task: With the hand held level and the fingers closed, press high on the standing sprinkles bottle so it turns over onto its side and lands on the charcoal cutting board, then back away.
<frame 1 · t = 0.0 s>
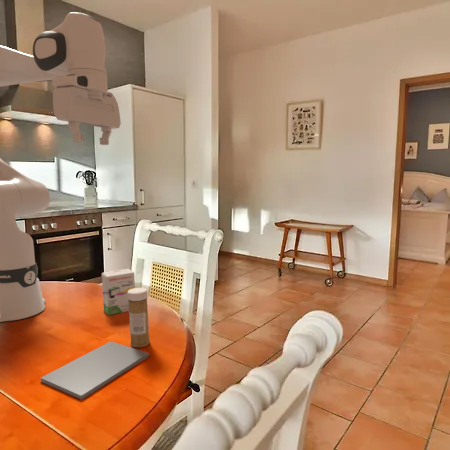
hand: (92, 143, 92), 48 cm above the table, tool pointing down, fingers open, 8 cm apart
sprinkles bottle: (140, 344, 88), on the table
cutting board: (98, 368, 77), on the table
ink box: (120, 310, 110), on the table
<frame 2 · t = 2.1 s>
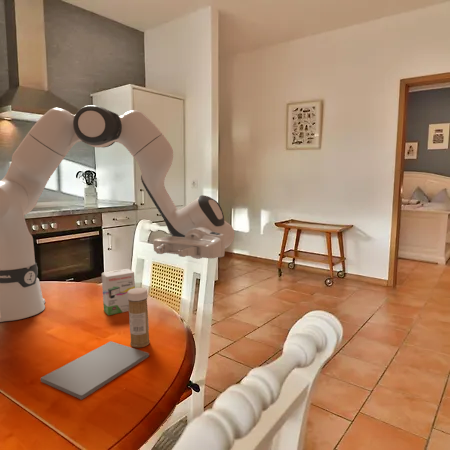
hand: (169, 252, 95), 20 cm above the table, tool horizontal, fingers open, 6 cm apart
nothing on the table moved.
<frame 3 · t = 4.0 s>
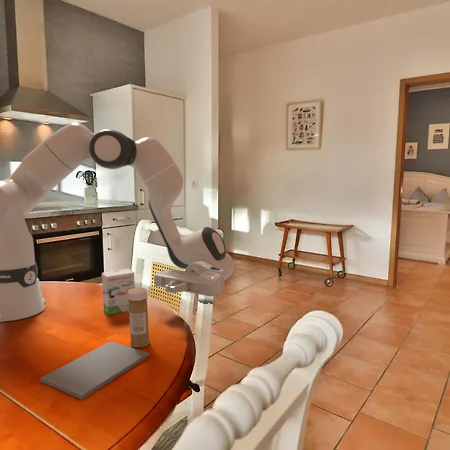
hand: (169, 289, 96), 10 cm above the table, tool horizontal, fingers closed
nothing on the table moved.
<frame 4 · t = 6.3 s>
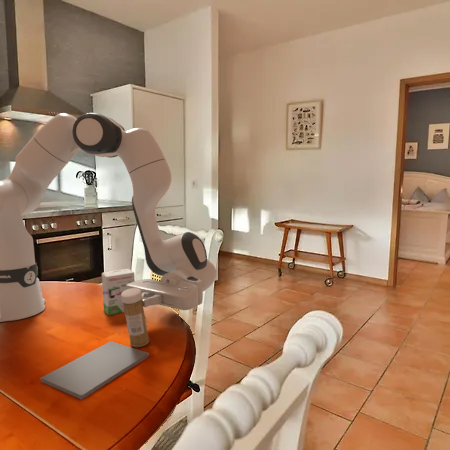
hand: (140, 303, 87), 10 cm above the table, tool horizontal, fingers closed
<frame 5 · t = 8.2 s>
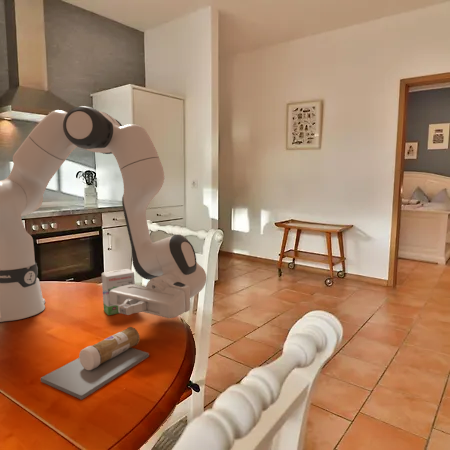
hand: (122, 310, 82), 10 cm above the table, tool horizontal, fingers closed
sprinkles bottle: (133, 335, 86), point 3 cm above the table, touching cutting board
everything else where it was.
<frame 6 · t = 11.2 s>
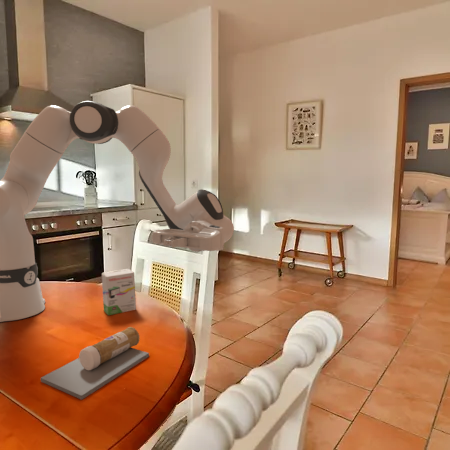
hand: (168, 243, 95), 22 cm above the table, tool horizontal, fingers closed
nothing on the table moved.
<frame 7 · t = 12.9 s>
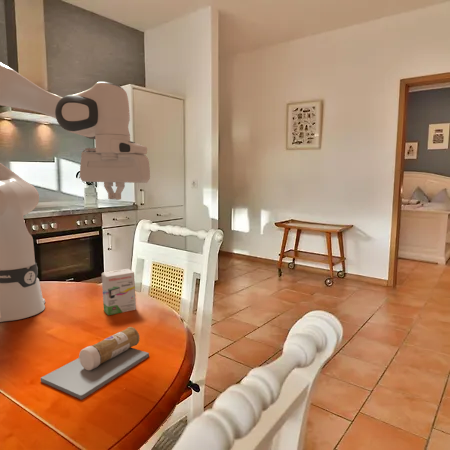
hand: (114, 199, 99), 34 cm above the table, tool pointing down, fingers closed
nothing on the table moved.
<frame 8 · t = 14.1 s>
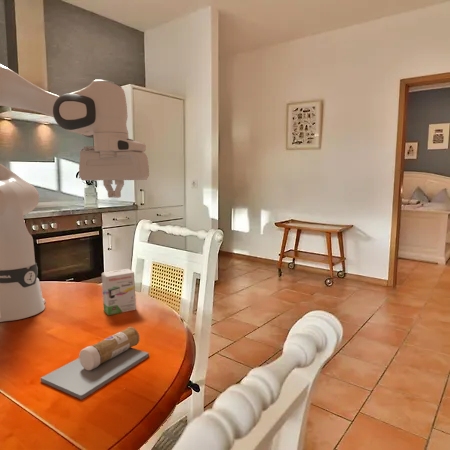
hand: (114, 197, 99), 34 cm above the table, tool pointing down, fingers closed
nothing on the table moved.
at the end: sprinkles bottle tilted 89°; sprinkles bottle touching cutting board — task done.
